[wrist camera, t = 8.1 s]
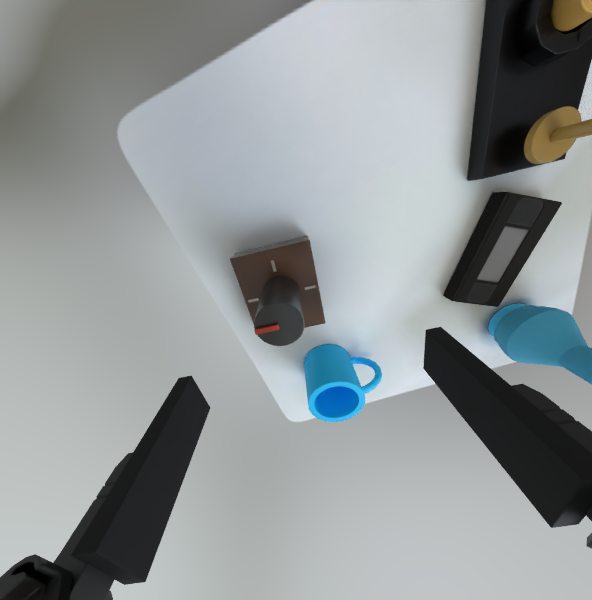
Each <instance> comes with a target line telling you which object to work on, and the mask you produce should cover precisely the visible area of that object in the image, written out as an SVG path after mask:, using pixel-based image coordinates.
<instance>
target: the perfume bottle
mask: <svg viewBox="0 0 592 600" xmlns="http://www.w3.org/2000/svg"><path fill="white" fill-rule="evenodd" d="M488 331H489V333H490V334H491V335H492V336H494V338H495V340H496V342H497V343H498V344H499V346H500V348H501V349H502V350H503V352H504V353H505V354H506V355H507V356H508V357H510V358H511V359H512V360H514V361H517V362H522V363H530V364H542V365H551V366H560V367H564V368H566V369H567V370H569V371H571V372H572V373H574V374H575V375H577V376H579V377H580V378H582V379H584V380H585V381H587V382H589V383H590V384H592V348H589V347H588V345H587V344H586V342H585V340H584V338H583V336H582V334H581V332H580V330H579V328H578V326H577V324H576V322H575V320H574V318H573V317H572V315H571V314H569V313H568V312H565V311H563V310H559V309H556V308H550V307H543V306H541V307H537V306H533V305H524V304H520V303H517V304H511V305H508V306H506V307H504V308H502V309H501V310H499V311H498V312H497V313H496V314H495V315H494V316H493V317H492V318H491V320H490V322H489V325H488Z"/></svg>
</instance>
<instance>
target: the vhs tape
mask: <svg viewBox="0 0 592 600" xmlns="http://www.w3.org/2000/svg"><path fill="white" fill-rule="evenodd" d="M561 204H562V202H558V201H552V200H547V199H541V198H536V197H531V196H525V195H520V194H515V193H510V192H495V193H492V195H491V198H490V200H489V202H488V204H487V206H486V208H485V210H484V212H483V214H482V216H481V218H480V220H479V222H478V225H477V227H476V229H475V231H474V233H473V235H472V237H471V239H470V241H469V243H468V245H467V247H466V249H465V252H464V254H463V256H462V258H461V260H460V262H459V264H458V266H457V268H456V270H455V272H454V274H453V276H452V279H451V281H450V283H449V285H448V287H447V289H446V291H445V293H444V295H443V296H445V297H446V298H448V299H450V300H451V301H456V302H463V303H471V304H479V305H487V306H495V307H498V306H499V305H500V303H501V301H502V300H503V298H504V297H505V295H506V293H507V292H508V290H509V288H510V287H511V285H512V284H513V282H514V280H515V279H516V277H517V275H518V274H519V272H520V271H521V269H522V267H523V266H524V264H525V262H526V261H527V259H528V258H529V256H530V254H531V253H532V251H533V249H534V248H535V246H536V245H537V243H538V241H539V240H540V238H541V236H542V235H543V233H544V232H545V230H546V228H547V227H548V225H549V224H550V222H551V220H552V219H553V217H554V215H555V214H556V212H557V211H558V209H559V207H560V206H561Z"/></svg>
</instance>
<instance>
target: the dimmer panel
mask: <svg viewBox="0 0 592 600" xmlns="http://www.w3.org/2000/svg"><path fill="white" fill-rule="evenodd" d="M230 260H231V263H232V266H233V268H234V271H235V274H236V276H237V279H238V282H239V285H240V287H241V290H242V293H243V296H244V298H245V301H246V304H247V307H248V309H249V312H250V315H251V317H252V320H253V323H254V320H255V316H256V312H257V309H258V305H259V302H260V298H261V295H262V291H263V288H264V285H265V284H266V283H267V281H269V280H270V279H271V278H274V277H277V276H285V277H289V278H291V279H292V280H294V281H295V282H296V283H297V285H298V286H299V289H300V294H301V301H302V309H303V316H304V328H305V327H309V326H314V325H319V324H323V323H325V318H324V313H323V307H322V302H321V297H320V292H319V287H318V282H317V277H316V271H315V266H314V261H313V256H312V251H311V246H310V241H309V239H308V237H307V236H306V237H302V238H298V239H294V240H290V241H285V242H281V243H277V244H273V245H269V246H264V247H260V248H256V249H252V250H248V251H244V252H239V253H236V254H234V255H233V256H232V257H231V258H230ZM258 337H259V336H258Z"/></svg>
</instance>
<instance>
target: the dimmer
mask: <svg viewBox="0 0 592 600" xmlns="http://www.w3.org/2000/svg"><path fill="white" fill-rule="evenodd" d="M254 328H255V333H256V335H258V336H259V337H260V338H261V339H262V340H263V341H264V342H266V343H268V344H271V345H275V346H284V345H288V344H291V343H293V342H295V341H296V340H297V339H298V338H299V337H300V336H301V334H302V333H303V330H304V316H303V309H302V301H301V294H300V289H299V286H298V285H297V283H296V282H295V281H294V280H292V279H291V278H289V277H285V276H277V277H274V278H271V279H270V280H269V281H267V283H266V284H265V285H264V288H263V291H262V295H261V298H260V302H259V305H258V309H257V312H256V316H255V320H254Z"/></svg>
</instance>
